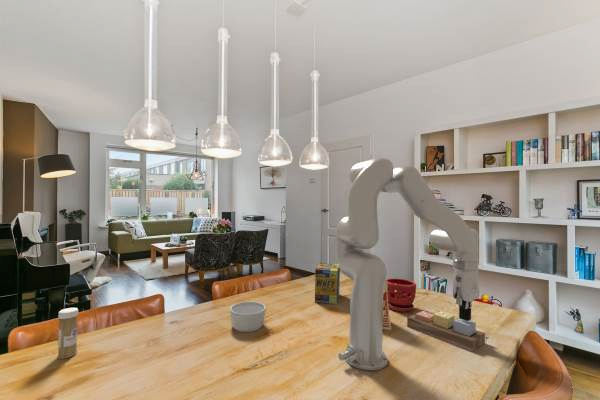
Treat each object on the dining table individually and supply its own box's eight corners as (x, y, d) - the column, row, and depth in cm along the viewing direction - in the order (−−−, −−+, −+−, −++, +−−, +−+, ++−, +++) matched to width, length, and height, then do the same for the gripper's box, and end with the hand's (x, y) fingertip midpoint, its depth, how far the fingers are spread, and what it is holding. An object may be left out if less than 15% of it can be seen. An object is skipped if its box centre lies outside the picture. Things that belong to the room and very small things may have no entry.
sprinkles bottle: (72, 358, 84) (73, 312, 84) (53, 360, 83) (54, 313, 83) (80, 350, 89) (81, 306, 89) (63, 352, 88) (64, 307, 88)
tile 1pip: (469, 336, 95) (469, 325, 95) (453, 330, 99) (453, 320, 99) (475, 332, 98) (475, 321, 98) (460, 327, 102) (460, 316, 102)
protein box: (314, 302, 135) (315, 269, 135) (319, 292, 150) (320, 262, 150) (337, 304, 132) (337, 270, 132) (339, 294, 147) (340, 263, 147)
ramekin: (272, 326, 109) (273, 307, 109) (243, 337, 99) (244, 317, 99) (251, 316, 118) (251, 298, 118) (222, 325, 108) (223, 307, 108)
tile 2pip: (447, 328, 100) (447, 318, 101) (433, 323, 104) (433, 313, 104) (454, 325, 104) (454, 314, 104) (440, 320, 108) (440, 310, 108)
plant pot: (420, 314, 123) (421, 285, 123) (389, 313, 123) (389, 285, 123) (409, 303, 136) (409, 277, 136) (381, 302, 136) (381, 277, 136)
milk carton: (391, 330, 107) (392, 275, 107) (366, 327, 109) (366, 274, 109) (389, 320, 116) (389, 270, 116) (365, 317, 118) (366, 268, 118)
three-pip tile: (428, 327, 106) (428, 317, 106) (415, 322, 110) (415, 313, 110) (435, 324, 109) (435, 314, 109) (422, 319, 113) (422, 310, 113)
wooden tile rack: (471, 351, 92) (471, 341, 92) (407, 326, 110) (407, 317, 110) (484, 343, 98) (484, 333, 98) (421, 320, 116) (421, 311, 116)
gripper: (467, 270, 91) (466, 328, 91) (486, 264, 100) (486, 317, 100) (443, 266, 97) (443, 320, 97) (463, 260, 106) (463, 311, 106)
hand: (465, 319), depth 99 cm, fingers closed
